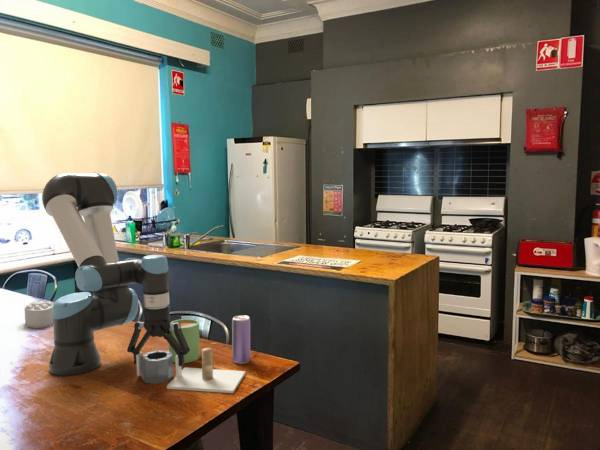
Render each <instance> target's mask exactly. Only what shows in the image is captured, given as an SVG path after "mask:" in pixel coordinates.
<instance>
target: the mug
mask: <svg viewBox="0 0 600 450" xmlns="http://www.w3.org/2000/svg"><path fill="white" fill-rule="evenodd" d="M170 322H171V323H177V322H180V325H181V330H182V333H183V335H184V337H185V340H186V342H187V344H188V346H189V349H190V351H189V352H188V353H187V354H186V355H184V364H187V363H193V362H195V361H197V360H198V359H200V335H201V332H200V321H199V320H197V319H192V318H182V319H175V320H172V321H170ZM169 330H170V331H171V333H172V335H173V337H174V338H175V339H176V341H177V342H178V340H177V338H176V335H175V333H174V330H172V328H171V327H170V329H169ZM178 343H179V342H178ZM168 351H169V352H171V353H172V354H173V363H175V357H176V356H177V354H176V352H175V351H174V350H173V348H172V347H171V346H170V344H169V343H168Z"/></svg>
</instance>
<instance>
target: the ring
mask: <svg viewBox="0 0 600 450" xmlns="http://www.w3.org/2000/svg"><path fill="white" fill-rule="evenodd" d="M141 366H142V374H141V380H142V381H143V382H144V383H145V384H163V383H166V382H169V381H170V380H171V379H173V377H174V362H173V354H172V353H171V352H169V350H161V349H160V350H159V349H157V350H153V351H148V352H145V353H144V354H143V356H142V357H141Z"/></svg>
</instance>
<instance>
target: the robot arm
mask: <svg viewBox="0 0 600 450" xmlns="http://www.w3.org/2000/svg"><path fill="white" fill-rule="evenodd" d="M118 195H119V193H118V187H117V184H116V182H115V181H114V179H113V178H112V177H111V176H110V175H109V174H105V173H100V172H93V173H91V172H90V173H89V172H88V173H87V172H86V173H83V172H82V173H81V172H80V173H79V172H72V173H71V172H63V173H59V174H56V175H54V176H53V177H51V178H50V179H49V180H48V182H46V184H45V186H44V188H43V191H42V195H41V199H42V201H41V202H42V205H43V207H44V210H45V212H46V213H47V215H48V216H51V217H52V218H53V221H55V224H56V226H57V228H58V230H59V232H60V233H61V235H62V237H63V240H64V242H65V243H66V245H67V247H68V249H69V251H70V253H71V255H72V257H73V259H74V261H75V263H76V265H77V267H78V268H77V269H76V271H75V274H74V275H75V276H74V279H75V282H76V286H77V288H78V289H79V291H80V292H73V293H68V294H66V295H63V296H60V297H59V298H57V299H56V300H55V301H54V303H52V304H53V314H52V317H53V324H52V326H53V341H54V346H53V351H52V353H51V356H50V360H49V363H48V369H49V372H50V373H51V374H53V375H57V376H75V375H81V374H84V373H89V372H91V371H93V370H95V369H97V368H98V367H100V366H101V364H102V363H101V355H100V352H99V350H98V347H97V344H96V342H95V333H94V332H95V331H99V330H100V331H101V330H104V329H109V328H112V327H113V328H114V327H117V326H122V325H124V324H128V323H131V322H132V321H134V319H135V318H136V317H137V314H138V311H139V298H138V297H139V296H138V294H137V293H136V291H135V289H133V288H130V287H129V285H133V284H138V285H139V284H140V285H142V295H143V307H144V308H143V318H144V321H142V320H138V321H136V322H134V326H133V328H134V330H133V333H132V336H131V338H130V341H129V343H128V347H127V352H128V353H131V354H133V364H134V365H136V376H138V377H140V376H142V366H141V357H142V356H143V355H144V354H143V351H141V350H142V349H143V347H144V346H145V344H146V343H147V342H148V340H149V339H150V337H153V338H155V337H157V338H163V339H165V340H166V342H167V343H168V345H169V344H170V346H171V347H172V348H173V350H174V351H175V352H176V354H177V356H176V357H175V362H174V363H175V377H176V378H179V377H180V375H181V374H182V370H183V369H182V367H183V366H184V365H185V363H184V355H186V354H187V353H188V352H189V351H190V349H189V346H188V344H187V342H186V340H185V337H184V335H183V333H182V330H181V325H180V322H177V323H171V322H172V321H171V319H170V318H171V315H170V314H171V309H170V292H169V290H170V288H169V287H170V286H169V284H170V283H169V282H170V280H169V269H170V268H169V263H168V258H167V256H166V255H163V254H148V255H145V256H144V255H143V257H142V258H138V257H128V258H125V259H124V260H119V255H118V250H117V244H116V239H115V233H114V227H113V223H112V216H111V213H112V211H113V210H114V205H116V203H117V202H118ZM91 292H92V293H91ZM170 327H171V328H172V330H174V333H175V335H176V338H177V340H178V342H179V343H178V342H177V341H176V339H175V338H174V337H173V335H172V333H171V331H170V330H169V329H170ZM143 328H144V329H145V331H146V332H145V333H144V334H143V337H142V338H141V340H139V337H140V335H141V332H142V329H143ZM138 340H139V342H138ZM137 343H138V344H137Z"/></svg>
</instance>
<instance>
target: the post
mask: <svg viewBox="0 0 600 450" xmlns="http://www.w3.org/2000/svg"><path fill="white" fill-rule="evenodd" d="M213 352H214V351H213V348H212V347H204V348H202V349H201V368H202V379H203V380H205V381H208V380H212V379H213V369H214V363H213V362H214V359H213V357H214V356H213Z"/></svg>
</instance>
